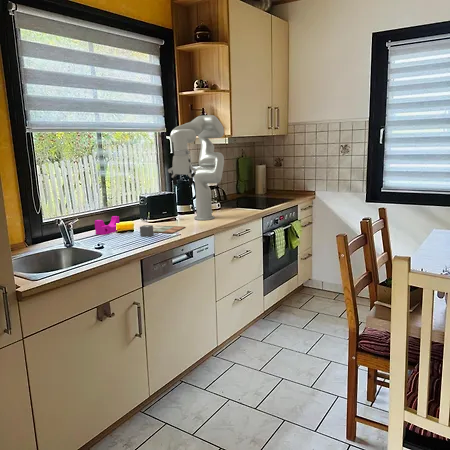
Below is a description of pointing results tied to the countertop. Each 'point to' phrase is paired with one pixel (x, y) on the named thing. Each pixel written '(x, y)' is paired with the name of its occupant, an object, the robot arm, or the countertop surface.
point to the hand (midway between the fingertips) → (183, 184)
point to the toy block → (106, 226)
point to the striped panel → (167, 229)
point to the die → (146, 230)
